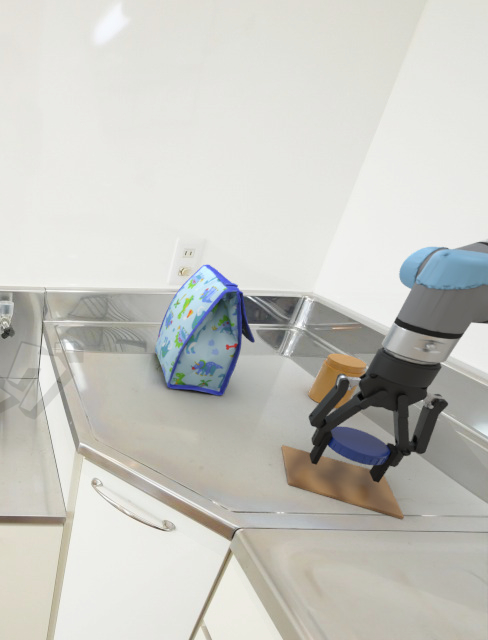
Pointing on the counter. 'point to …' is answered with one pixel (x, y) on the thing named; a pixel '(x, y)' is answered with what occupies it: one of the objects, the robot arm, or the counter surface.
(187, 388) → the lunch bag
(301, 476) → the wooden cutting board
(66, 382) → the counter surface
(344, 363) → the jam jar
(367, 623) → the counter surface
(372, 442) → the jar lid
